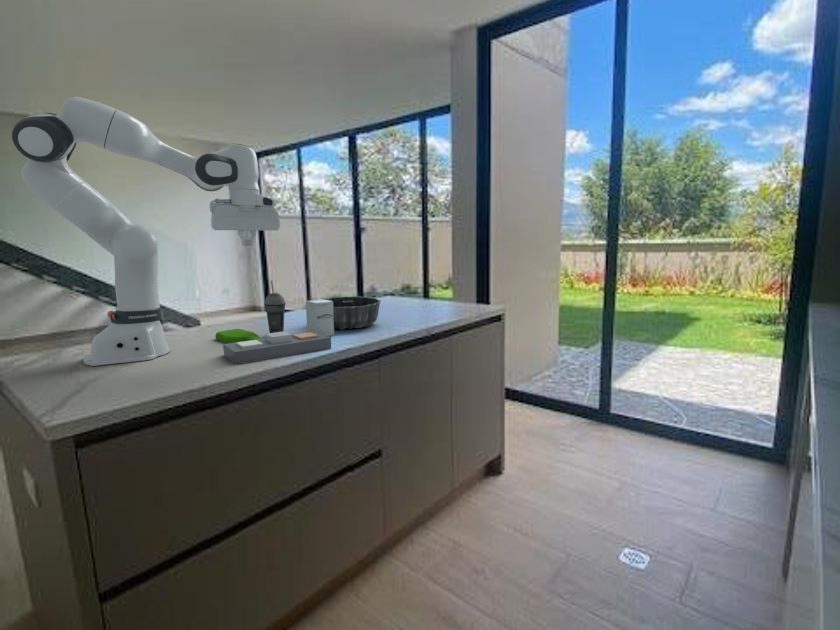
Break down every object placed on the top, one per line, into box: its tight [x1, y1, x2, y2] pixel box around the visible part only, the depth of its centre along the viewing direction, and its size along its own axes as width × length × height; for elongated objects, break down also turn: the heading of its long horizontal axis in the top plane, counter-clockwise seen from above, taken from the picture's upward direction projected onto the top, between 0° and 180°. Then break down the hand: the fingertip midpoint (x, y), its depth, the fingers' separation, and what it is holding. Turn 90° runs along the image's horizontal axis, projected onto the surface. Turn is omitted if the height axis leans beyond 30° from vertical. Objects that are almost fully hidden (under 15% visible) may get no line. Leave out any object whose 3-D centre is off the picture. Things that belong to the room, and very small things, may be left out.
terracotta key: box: [292, 332, 318, 340], centre depth 153 cm, size 6×6×3 cm
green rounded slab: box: [214, 328, 262, 344], centre depth 161 cm, size 3×11×24 cm
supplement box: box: [305, 298, 335, 337], centre depth 171 cm, size 7×7×13 cm
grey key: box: [264, 331, 292, 344], centre depth 148 cm, size 6×6×3 cm
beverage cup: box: [264, 280, 286, 333], centre depth 169 cm, size 7×7×20 cm
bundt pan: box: [321, 296, 382, 330], centre depth 189 cm, size 26×26×10 cm
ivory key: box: [236, 340, 263, 349], centre depth 142 cm, size 6×6×3 cm
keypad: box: [222, 331, 332, 365], centre depth 148 cm, size 30×12×4 cm, turn 128°
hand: (247, 245), depth 148 cm, fingers closed
